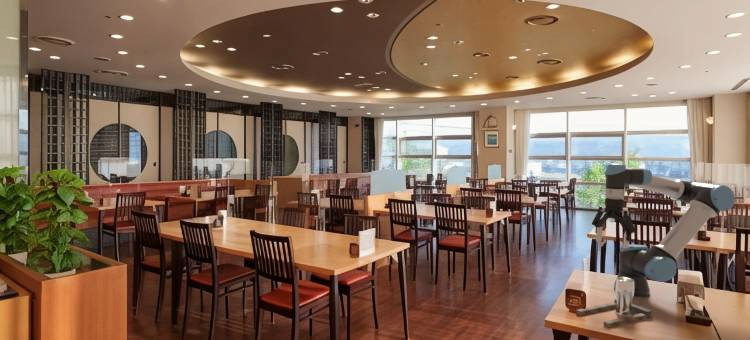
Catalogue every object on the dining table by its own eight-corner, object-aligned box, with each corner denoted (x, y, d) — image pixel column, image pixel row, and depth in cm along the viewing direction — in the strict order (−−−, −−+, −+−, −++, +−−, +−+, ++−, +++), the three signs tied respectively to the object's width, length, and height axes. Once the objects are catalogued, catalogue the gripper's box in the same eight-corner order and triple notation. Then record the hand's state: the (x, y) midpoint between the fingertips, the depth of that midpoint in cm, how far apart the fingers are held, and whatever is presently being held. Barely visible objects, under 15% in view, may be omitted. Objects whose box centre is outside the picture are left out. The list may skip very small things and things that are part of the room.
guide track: (618, 305, 195) (619, 298, 195) (651, 317, 182) (652, 310, 181) (576, 313, 184) (576, 307, 184) (608, 328, 171) (608, 320, 170)
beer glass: (635, 317, 181) (637, 282, 180) (617, 316, 183) (619, 281, 182) (629, 311, 188) (631, 277, 187) (611, 309, 190) (613, 276, 189)
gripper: (585, 194, 206) (582, 239, 207) (635, 202, 183) (632, 251, 184) (596, 194, 209) (593, 238, 210) (647, 201, 186) (644, 250, 188)
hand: (612, 244), depth 197 cm, fingers open, 13 cm apart
